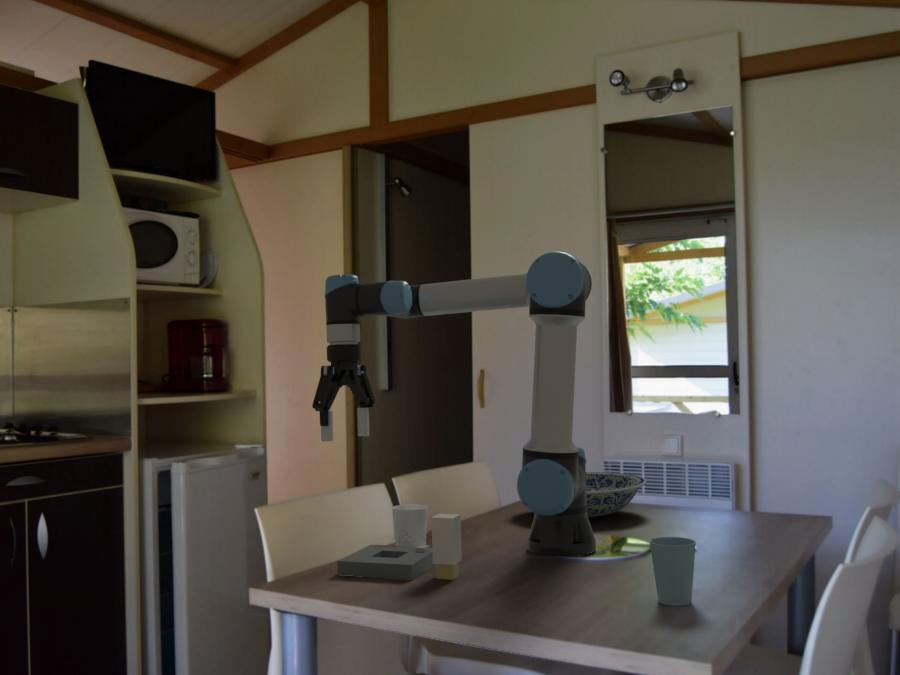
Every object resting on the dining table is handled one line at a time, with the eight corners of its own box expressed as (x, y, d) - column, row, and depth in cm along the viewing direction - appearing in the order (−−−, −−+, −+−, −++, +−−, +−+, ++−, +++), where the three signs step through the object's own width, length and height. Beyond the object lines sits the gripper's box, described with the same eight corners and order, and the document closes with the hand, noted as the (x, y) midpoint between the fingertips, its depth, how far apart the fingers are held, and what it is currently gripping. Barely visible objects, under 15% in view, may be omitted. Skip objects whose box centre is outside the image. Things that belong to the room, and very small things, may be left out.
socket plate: (439, 562, 182) (438, 544, 183) (412, 580, 167) (411, 560, 167) (370, 558, 188) (369, 541, 188) (337, 576, 172) (337, 557, 173)
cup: (642, 602, 148) (640, 541, 148) (668, 593, 153) (667, 534, 153) (679, 610, 142) (678, 547, 143) (706, 602, 147) (704, 540, 148)
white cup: (423, 555, 190) (422, 510, 190) (389, 554, 191) (388, 509, 191) (431, 548, 197) (430, 504, 198) (398, 547, 199) (397, 504, 199)
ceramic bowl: (493, 517, 235) (492, 481, 235) (573, 502, 258) (572, 468, 258) (594, 533, 210) (593, 492, 210) (672, 514, 233) (671, 477, 233)
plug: (462, 575, 171) (460, 514, 171) (454, 580, 166) (453, 518, 167) (440, 573, 172) (439, 513, 172) (433, 579, 168) (431, 517, 168)
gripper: (362, 345, 206) (364, 433, 205) (294, 344, 184) (296, 443, 183) (388, 343, 202) (390, 434, 201) (321, 342, 180) (324, 443, 179)
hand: (346, 438), depth 192 cm, fingers open, 13 cm apart
